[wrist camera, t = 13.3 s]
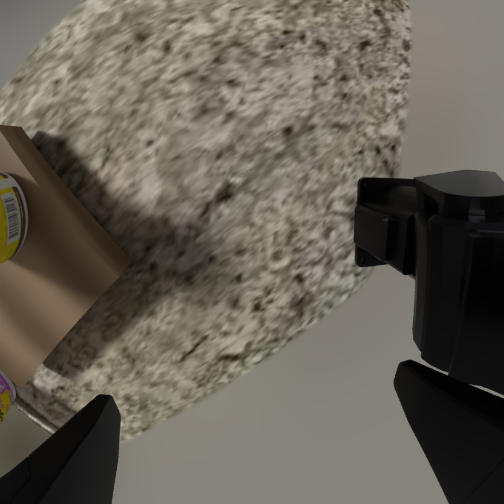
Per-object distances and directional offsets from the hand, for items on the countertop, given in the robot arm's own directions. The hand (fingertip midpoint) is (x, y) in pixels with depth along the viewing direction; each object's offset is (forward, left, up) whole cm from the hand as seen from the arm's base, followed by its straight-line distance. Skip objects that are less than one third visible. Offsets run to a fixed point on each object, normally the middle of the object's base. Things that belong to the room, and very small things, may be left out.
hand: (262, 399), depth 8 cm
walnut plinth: (+17, -1, -13) cm, 21 cm away
